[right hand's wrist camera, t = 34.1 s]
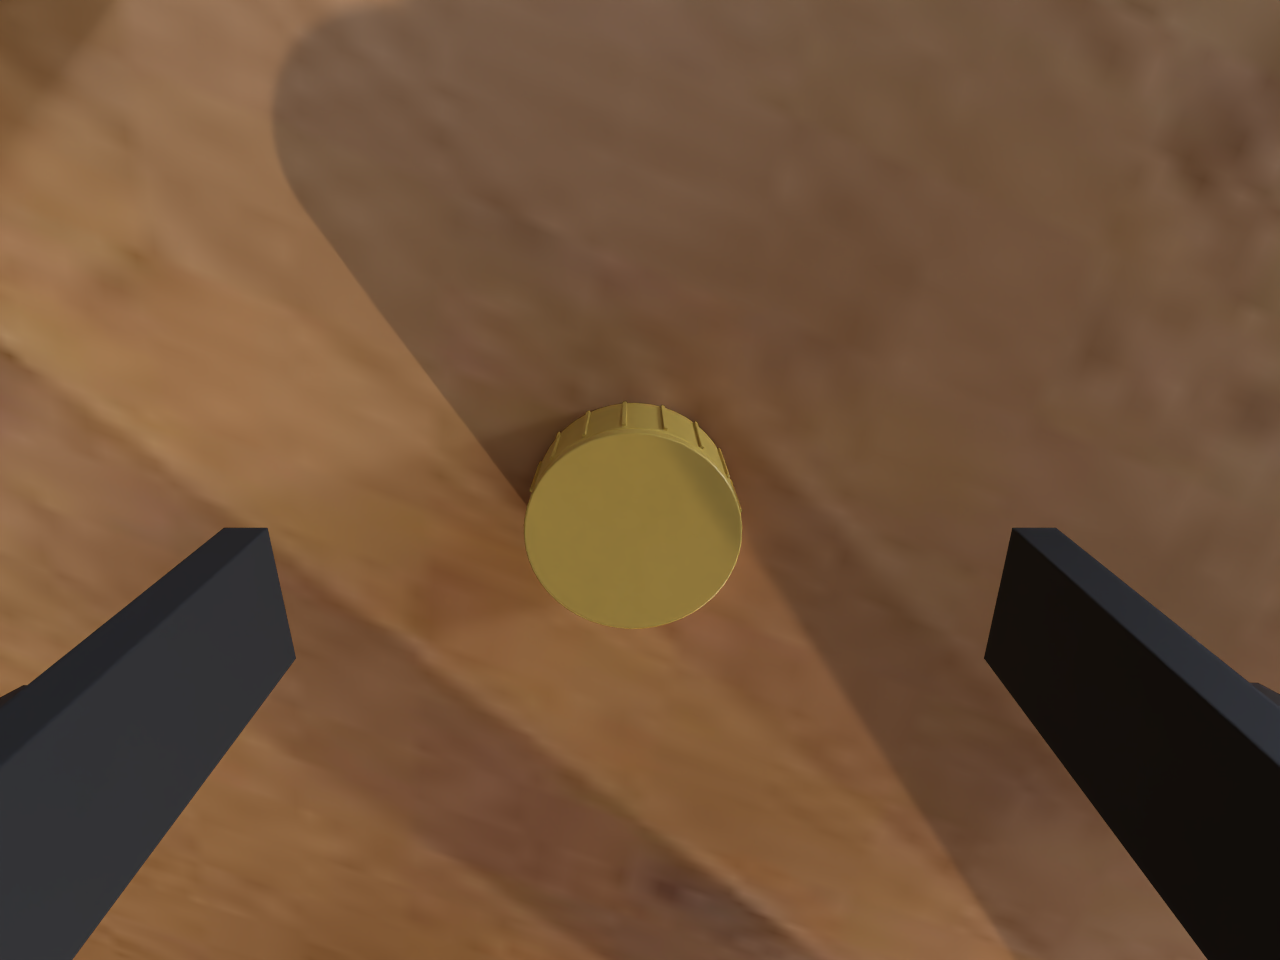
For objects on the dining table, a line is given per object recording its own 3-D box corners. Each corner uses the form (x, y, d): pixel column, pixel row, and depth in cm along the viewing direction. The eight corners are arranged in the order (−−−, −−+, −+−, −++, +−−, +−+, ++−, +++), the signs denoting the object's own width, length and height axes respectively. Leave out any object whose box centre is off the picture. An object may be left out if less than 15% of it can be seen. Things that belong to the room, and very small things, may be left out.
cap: (578, 603, 18) (571, 656, 16) (502, 440, 16) (483, 476, 14) (754, 546, 17) (770, 594, 15) (694, 371, 16) (703, 398, 14)
